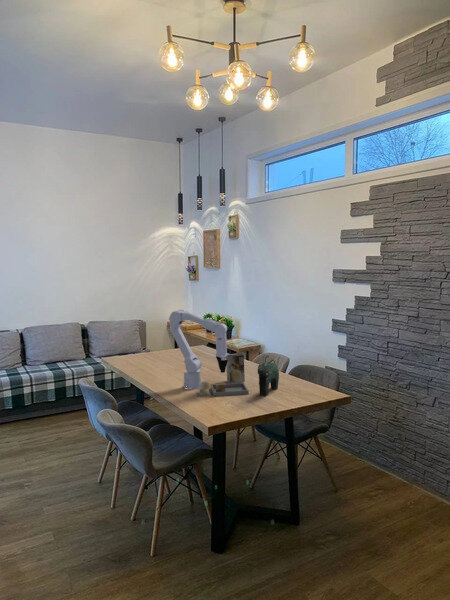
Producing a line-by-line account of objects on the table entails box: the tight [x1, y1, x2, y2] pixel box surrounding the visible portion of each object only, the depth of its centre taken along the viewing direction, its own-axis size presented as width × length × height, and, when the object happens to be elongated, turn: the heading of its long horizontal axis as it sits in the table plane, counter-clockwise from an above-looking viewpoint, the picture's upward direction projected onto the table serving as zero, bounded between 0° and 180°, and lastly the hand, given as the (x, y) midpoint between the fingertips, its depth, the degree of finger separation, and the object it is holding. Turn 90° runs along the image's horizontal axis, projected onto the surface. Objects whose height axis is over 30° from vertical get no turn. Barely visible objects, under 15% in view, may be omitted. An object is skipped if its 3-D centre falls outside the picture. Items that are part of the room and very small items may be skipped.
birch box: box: [199, 380, 210, 397], centre depth 230 cm, size 4×4×6 cm
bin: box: [211, 382, 250, 397], centre depth 235 cm, size 18×15×2 cm
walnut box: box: [215, 382, 226, 392], centre depth 231 cm, size 4×4×5 cm
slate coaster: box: [196, 391, 212, 398], centre depth 230 cm, size 7×7×1 cm
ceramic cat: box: [257, 355, 280, 397], centre depth 231 cm, size 20×6×20 cm, turn 151°
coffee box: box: [225, 352, 246, 384], centre depth 254 cm, size 9×6×16 cm
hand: (222, 370), depth 240 cm, fingers open, 7 cm apart
